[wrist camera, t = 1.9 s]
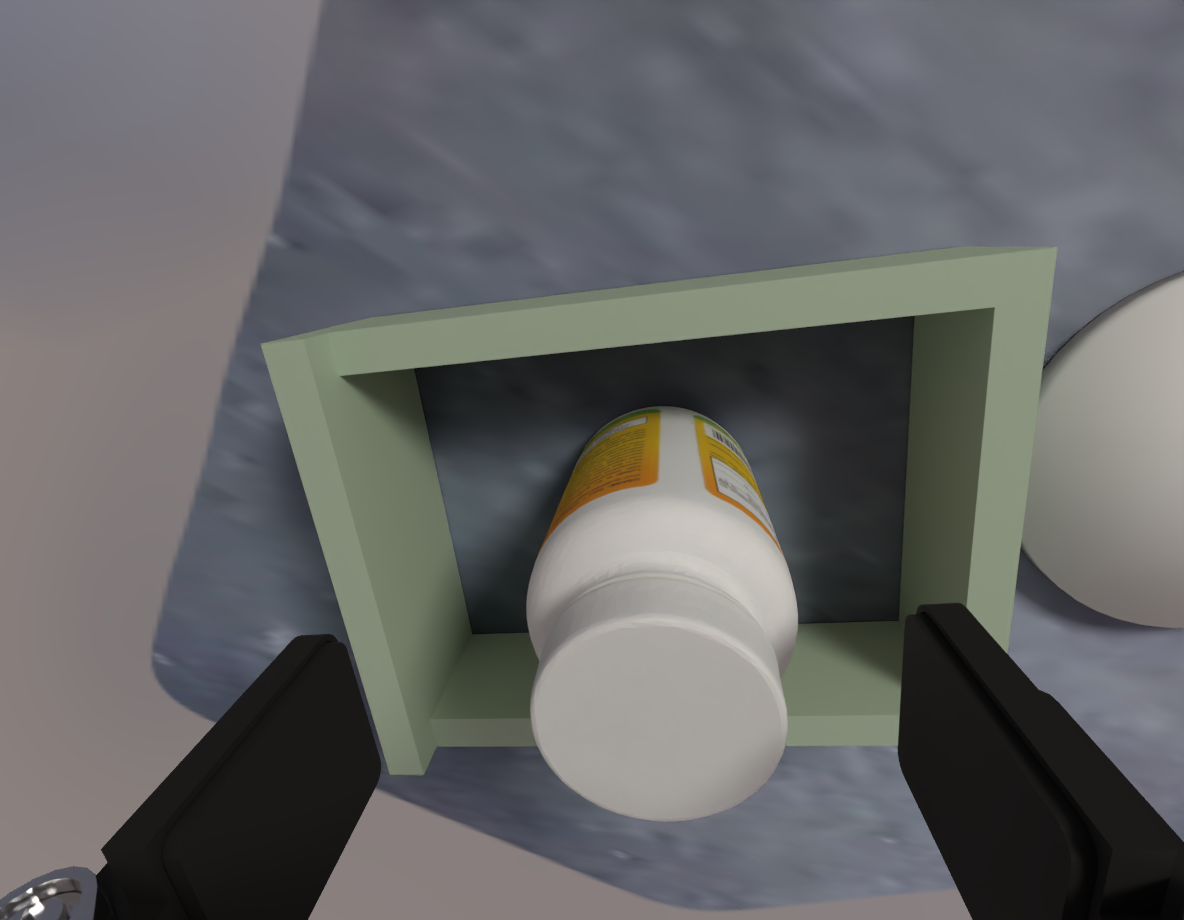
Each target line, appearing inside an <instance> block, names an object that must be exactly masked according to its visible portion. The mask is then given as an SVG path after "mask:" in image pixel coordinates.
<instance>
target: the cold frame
mask: <svg viewBox="0 0 1184 920" xmlns="http://www.w3.org/2000/svg"><path fill="white" fill-rule="evenodd" d="M1057 248H1058V247H954V248H946V249H938V250H929V251H921V252H913V253H905V254H896V255H888V256H880V257H871V258H863V259H855V260H846V261H838V262H830V263H821V264H813V265H805V266H796V267H788V268H780V269H771V270H763V271H755V272H746V273H738V274H730V275H722V276H713V277H705V278H697V279H688V280H680V281H672V282H663V283H655V284H647V285H638V286H630V287H622V288H613V289H605V290H597V291H588V292H580V293H572V294H564V295H555V296H547V297H539V298H530V299H522V300H514V301H505V302H497V303H489V304H480V305H472V306H464V307H455V308H447V309H439V310H430V311H422V312H414V313H406V314H397V315H389V316H381V317H372V318H367V319H363V320H359V321H354V322H350V323H346V324H342V325H338V326H334V327H330V328H325V329H321V330H317V331H313V332H309V333H305V334H300V335H296V336H292V337H288V338H284V339H280V340H275V341H271V342H267V343H263V344H261V347H262V350H263V353H264V357H265V360H266V363H267V367H268V370H269V373H270V377H271V380H272V383H273V387H274V390H275V393H276V397H277V400H278V403H279V407H280V410H281V413H282V417H283V420H284V423H285V427H286V430H287V433H288V437H289V440H290V443H291V447H292V450H293V453H294V457H295V460H296V463H297V467H298V470H299V473H300V477H301V480H302V483H303V487H304V490H305V493H306V497H307V500H308V503H309V507H310V510H311V513H312V517H313V520H314V523H315V527H316V530H317V533H318V537H319V540H320V543H321V547H322V550H323V553H324V557H325V560H326V563H327V567H328V570H329V573H330V577H331V580H332V583H333V587H334V590H335V593H336V597H337V600H338V603H339V607H340V610H341V613H342V617H343V620H344V623H345V627H346V630H347V633H348V637H349V640H350V643H351V647H352V650H353V653H354V657H355V660H356V663H357V667H358V670H359V673H360V677H361V680H362V683H363V687H364V690H365V693H366V697H367V700H368V703H369V707H370V710H371V713H372V717H373V720H374V723H375V727H376V730H377V733H378V737H379V740H380V743H381V747H382V750H383V753H384V757H385V760H386V763H387V767H388V770H389V773H390V775H424V773H425V771H426V769H427V767H428V765H429V763H430V760H431V758H432V756H433V754H434V752H435V750H436V747H529V746H537V744H536V741H535V738H534V735H533V732H532V727H531V718H530V699H531V692H532V687H533V683H534V680H535V676H536V672H537V669H538V665H539V659H538V657H537V655H536V652H535V649H534V647H533V644H532V641H531V638H530V634H529V633H498V634H472V630H471V625H470V621H469V616H468V612H467V607H466V603H465V598H464V594H463V589H462V584H461V580H460V575H459V571H458V566H457V562H456V557H455V553H454V548H453V544H452V539H451V535H450V530H449V525H448V521H447V516H446V512H445V507H444V503H443V498H442V494H441V489H440V485H439V480H438V475H437V471H436V466H435V462H434V457H433V453H432V448H431V444H430V439H429V435H428V430H427V426H426V421H425V416H424V412H423V407H422V403H421V398H420V394H419V389H418V385H417V380H416V376H415V371H414V368H421V367H430V366H440V365H449V364H459V363H468V362H478V361H487V360H497V359H506V358H516V357H525V356H535V355H544V354H554V353H563V352H573V351H582V350H592V349H601V348H611V347H621V346H630V345H640V344H649V343H659V342H668V341H678V340H687V339H697V338H706V337H716V336H725V335H735V334H744V333H754V332H763V331H773V330H782V329H792V328H801V327H811V326H820V325H830V324H839V323H849V322H859V321H868V320H878V319H887V318H897V317H906V316H915V318H914V337H913V356H912V376H911V395H910V414H909V433H908V453H907V472H906V491H905V510H904V530H903V549H902V568H901V587H900V607H899V621H875V622H844V623H812V624H798V630H797V637H796V643H795V647H794V651H793V654H792V657H791V659H790V662H789V664H788V666H787V668H786V670H785V672H784V675H783V676H782V678H781V679H780V680H781V684H782V689H783V694H784V698H785V703H786V707H787V720H788V733H787V739H786V744H785V746H898V735H899V717H900V699H901V681H902V663H903V645H904V628H905V619H906V617H907V616H908V615H913V614H916V611H917V608H918V606H920V605H921V604H941V603H961V604H963V605H964V606H965V607H966V608H967V609H968V610H969V611H970V612H971V613H972V614H973V616H974V617H975V618H976V619H977V620H978V621H979V622H980V623H981V625H982V626H983V627H984V628H985V629H986V630H987V631H988V633H989V634H990V635H991V636H992V637H993V638H994V639H995V641H996V642H997V643H998V644H999V645H1000V646H1001V647H1002V649H1003V650H1004V651H1005V652H1006V653H1008V645H1009V637H1010V629H1011V621H1012V612H1013V604H1014V596H1015V588H1016V580H1017V572H1018V564H1019V556H1020V548H1021V539H1022V531H1023V523H1024V515H1025V507H1026V499H1027V491H1028V483H1029V475H1030V467H1031V458H1032V450H1033V442H1034V434H1035V426H1036V418H1037V410H1038V402H1039V394H1040V385H1041V377H1042V369H1043V361H1044V353H1045V345H1046V337H1047V329H1048V321H1049V312H1050V304H1051V296H1052V288H1053V280H1054V272H1055V264H1056V256H1057Z"/></svg>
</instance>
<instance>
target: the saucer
mask: <svg viewBox="0 0 1184 920" xmlns="http://www.w3.org/2000/svg"><path fill="white" fill-rule="evenodd" d="M1021 549H1022V550H1023V552H1024V553H1025V554H1026V556H1027V557H1028V558H1029V560H1030V561H1031V562H1032V563H1033V564H1034V565H1035V566H1036V567H1037V568H1038V569H1039V570H1040V571H1041V572H1042V573H1043V574H1044V575H1046V576H1047V577H1048V578H1049V579H1050V580H1051V581H1052V582H1054V583H1055V584H1056V585H1057V586H1058V587H1059V588H1060V589H1062V590H1063V591H1065V592H1066V593H1067V594H1069V595H1070V596H1071V597H1073V598H1074V599H1076V600H1077V601H1079V602H1080V603H1082V604H1084V605H1086V606H1088V607H1090V608H1092V609H1094V610H1096V611H1098V612H1100V613H1103V614H1106V615H1108V616H1111V617H1114V618H1116V619H1120V620H1124V621H1128V622H1132V623H1136V624H1140V625H1147V626H1155V627H1163V628H1184V271H1182V272H1179V273H1177V274H1174V275H1172V276H1169V277H1167V278H1164V279H1162V280H1159V281H1157V282H1155V283H1153V284H1151V285H1149V286H1147V287H1145V288H1143V289H1141V290H1139V291H1137V292H1135V293H1133V294H1131V295H1129V296H1128V297H1126V298H1125V299H1123V300H1121V301H1120V302H1118V303H1117V304H1115V305H1114V306H1112V307H1111V308H1109V309H1108V310H1106V311H1105V312H1103V313H1101V314H1100V315H1099V316H1098V317H1096V318H1095V319H1094V320H1093V321H1091V322H1090V323H1089V324H1088V325H1087V326H1085V327H1084V328H1083V329H1082V330H1080V331H1079V332H1078V333H1077V334H1076V335H1075V336H1074V337H1073V338H1072V339H1071V340H1070V341H1069V342H1068V343H1067V344H1066V345H1065V346H1064V347H1063V348H1062V349H1061V350H1060V351H1059V352H1058V353H1057V354H1056V355H1055V356H1054V357H1053V358H1052V360H1051V361H1050V362H1049V363H1048V365H1047V366H1046V367H1045V368H1044V369H1043V371H1042V377H1041V385H1040V394H1039V402H1038V410H1037V418H1036V426H1035V434H1034V442H1033V450H1032V458H1031V467H1030V475H1029V483H1028V491H1027V499H1026V507H1025V515H1024V523H1023V531H1022V539H1021Z"/></svg>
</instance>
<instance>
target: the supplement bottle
mask: <svg viewBox="0 0 1184 920" xmlns="http://www.w3.org/2000/svg"><path fill="white" fill-rule="evenodd" d="M526 612H527V624H528V629H529V634H530V638H531V641H532V644H533V647H534V649H535V652H536V655H537V657H538V659H539V665H538V669H537V672H536V676H535V680H534V683H533V687H532V692H531V699H530V718H531V727H532V732H533V735H534V738H535V741H536V744H537V746H538V748H539V750H540V752H541V754H542V756H543V758H544V760H545V761H546V763H547V764H548V765H549V767H550V768H551V769H552V770H553V772H554V773H555V774H556V775H557V776H558V777H559V778H560V779H561V780H562V781H563V782H564V783H565V784H566V785H567V786H568V787H570V788H571V789H572V790H573V791H575V792H576V793H578V794H579V795H581V796H582V797H584V798H585V799H587V800H589V801H591V802H593V803H595V804H596V805H598V806H600V807H602V808H605V809H607V810H610V811H612V812H615V813H618V814H621V815H625V816H628V817H632V818H637V819H644V820H652V821H666V822H670V821H685V820H692V819H697V818H702V817H707V816H710V815H713V814H716V813H719V812H722V811H725V810H727V809H729V808H731V807H733V806H736V805H738V804H740V803H741V802H743V801H744V800H746V799H747V798H749V797H750V796H751V795H752V794H754V793H755V792H756V791H757V790H758V789H759V788H761V787H762V786H763V785H764V784H765V782H766V781H767V780H768V779H769V778H770V777H771V775H772V774H773V772H774V771H775V769H776V767H777V765H778V763H779V761H780V759H781V757H782V755H783V751H784V748H785V744H786V739H787V733H788V720H787V707H786V703H785V698H784V694H783V689H782V684H781V680H780V679H781V678H782V676H783V675H784V672H785V670H786V668H787V666H788V664H789V662H790V659H791V657H792V654H793V651H794V647H795V643H796V637H797V630H798V610H797V602H796V596H795V592H794V587H793V583H792V579H791V576H790V572H789V569H788V566H787V563H786V560H785V558H784V555H783V552H782V550H781V548H780V545H779V542H778V539H777V537H776V534H775V532H774V529H773V526H772V524H771V521H770V518H769V515H768V513H767V510H766V507H765V504H764V502H763V499H762V497H761V494H760V491H759V489H758V486H757V483H756V480H755V478H754V475H753V473H752V470H751V468H750V465H749V463H748V461H747V459H746V457H745V455H744V453H743V451H742V450H741V448H740V446H739V445H738V444H737V442H736V441H735V440H734V438H733V437H732V436H731V435H730V434H729V433H728V432H727V431H726V430H725V429H724V428H722V427H721V426H720V425H719V424H717V423H716V422H714V421H713V420H711V419H709V418H708V417H706V416H704V415H702V414H699V413H697V412H694V411H691V410H688V409H684V408H679V407H672V406H654V407H646V408H641V409H637V410H634V411H631V412H628V413H626V414H623V415H621V416H619V417H617V418H615V419H614V420H612V421H610V422H609V423H607V424H606V425H604V426H603V427H602V428H601V429H600V430H599V431H598V432H597V433H596V434H595V435H594V436H593V437H592V438H591V439H590V441H589V442H588V443H587V445H586V446H585V448H584V449H583V451H582V453H581V455H580V456H579V458H578V460H577V463H576V465H575V467H574V470H573V472H572V475H571V477H570V480H569V482H568V484H567V487H566V489H565V492H564V494H563V496H562V499H561V501H560V503H559V506H558V508H557V511H556V513H555V516H554V518H553V520H552V522H551V525H550V527H549V530H548V532H547V535H546V537H545V539H544V542H543V544H542V547H541V549H540V551H539V553H538V556H537V559H536V562H535V564H534V567H533V571H532V574H531V578H530V582H529V586H528V593H527V604H526Z"/></svg>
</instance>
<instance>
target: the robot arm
mask: <svg viewBox="0 0 1184 920" xmlns="http://www.w3.org/2000/svg"><path fill="white" fill-rule="evenodd" d="M898 757H899V762H900V766H901V770H902V773H903V775H904V777H905V779H906V782H907V784H908V786H909V788H910V790H911V792H912V794H913V796H914V798H915V800H916V802H917V804H918V807H919V809H920V811H921V813H922V815H923V817H924V819H925V821H926V823H927V825H928V827H929V830H930V832H931V834H932V836H933V838H934V840H935V842H936V844H937V846H938V848H939V850H940V853H941V855H942V857H943V859H944V861H945V863H946V865H947V867H948V869H949V871H950V873H951V876H952V878H953V880H954V882H955V884H956V886H957V888H958V890H959V892H960V894H961V896H962V899H963V901H964V903H965V905H966V907H967V909H968V911H969V913H970V915H971V917H972V919H973V920H1184V842H1183V841H1182V840H1181V839H1180V837H1179V836H1178V835H1177V834H1176V833H1175V832H1174V831H1173V830H1172V829H1171V827H1170V826H1169V825H1168V824H1167V823H1166V822H1165V821H1164V820H1163V818H1162V817H1161V816H1160V815H1159V814H1158V813H1157V812H1156V811H1155V810H1154V808H1153V807H1152V806H1151V805H1150V804H1149V803H1148V802H1147V801H1146V800H1145V798H1144V797H1143V796H1142V795H1141V794H1140V793H1139V792H1138V791H1137V789H1136V788H1135V787H1134V786H1133V785H1132V784H1131V783H1130V782H1129V781H1128V779H1127V778H1126V777H1125V776H1124V775H1123V774H1122V773H1121V772H1120V770H1119V769H1118V768H1117V767H1116V766H1115V765H1114V764H1113V763H1112V762H1111V760H1110V759H1109V758H1108V757H1107V756H1106V755H1105V754H1104V753H1103V752H1102V750H1101V749H1100V748H1099V747H1098V746H1097V745H1096V744H1095V743H1094V741H1093V740H1092V739H1091V738H1090V737H1089V736H1088V735H1087V734H1086V733H1085V731H1084V730H1083V729H1082V728H1081V727H1080V726H1079V725H1078V724H1077V722H1076V721H1075V720H1074V719H1073V718H1072V717H1071V716H1070V715H1069V714H1068V712H1067V711H1066V710H1065V709H1064V708H1063V707H1062V706H1061V705H1060V704H1059V702H1057V701H1056V700H1055V699H1054V698H1053V697H1052V696H1051V695H1050V694H1048V693H1045V692H1043V691H1041V690H1038V689H1037V687H1036V686H1035V685H1034V684H1033V683H1032V682H1031V681H1030V679H1029V678H1028V677H1027V676H1026V675H1025V674H1024V673H1023V671H1022V670H1021V669H1020V668H1019V667H1018V666H1017V665H1016V663H1015V662H1014V661H1013V660H1012V659H1011V658H1010V657H1009V655H1008V654H1007V653H1006V652H1005V651H1004V650H1003V649H1002V647H1001V646H1000V645H999V644H998V643H997V642H996V641H995V639H994V638H993V637H992V636H991V635H990V634H989V633H988V631H987V630H986V629H985V628H984V627H983V626H982V625H981V623H980V622H979V621H978V620H977V619H976V618H975V617H974V616H973V614H972V613H971V612H970V611H969V610H968V609H967V608H966V607H965V606H964V605H963V604H961V603H941V604H921V605H920V606H918V608H917V611H916V614H913V615H908V616H907V617H906V619H905V628H904V645H903V663H902V681H901V699H900V717H899V735H898ZM380 772H381V761H380V757H379V753H378V750H377V747H376V744H375V740H374V737H373V734H372V730H371V727H370V724H369V721H368V717H367V714H366V711H365V707H364V704H363V701H362V698H361V694H360V691H359V688H358V684H357V681H356V678H355V675H354V671H353V668H352V665H351V661H350V658H349V655H348V652H347V649H346V646H345V645H344V644H343V643H341V642H338V641H337V639H336V638H335V637H334V636H333V635H330V634H321V635H301V636H298V637H296V638H294V639H293V640H292V641H291V642H290V643H289V644H288V645H287V646H286V648H285V649H284V650H283V651H282V652H281V653H280V654H279V655H278V656H277V657H276V658H275V660H274V661H273V662H272V663H271V664H270V665H269V666H268V667H267V668H266V669H265V671H264V672H263V673H262V674H261V675H260V676H259V677H258V678H257V679H256V680H255V681H254V683H253V684H252V685H251V686H250V687H249V688H248V689H247V690H246V691H245V692H244V693H243V695H242V696H241V697H240V698H239V699H238V700H237V701H236V702H235V703H234V704H233V706H232V707H231V708H230V709H229V710H228V711H227V712H226V713H225V714H224V715H223V716H222V718H221V719H220V720H219V721H218V722H217V723H216V724H215V725H214V726H213V727H212V728H211V730H210V731H209V732H208V733H207V734H206V735H205V736H204V737H203V738H202V739H201V741H200V742H199V743H198V744H197V745H196V746H195V747H194V748H193V749H192V751H190V753H189V754H188V755H187V756H186V757H185V758H184V759H183V761H181V762H180V763H179V765H178V766H177V767H176V768H175V769H174V770H173V771H172V772H171V773H170V774H169V776H168V777H167V778H166V779H165V780H164V781H163V782H162V783H161V784H160V785H159V786H158V788H157V789H156V790H155V791H154V792H153V793H152V794H151V795H150V796H149V797H148V798H147V800H146V801H145V802H144V803H143V804H142V805H141V806H140V807H139V808H138V809H137V810H136V812H135V813H134V814H133V815H132V816H131V817H130V818H129V819H128V820H127V821H126V822H125V824H124V825H123V826H122V827H121V828H120V829H119V830H118V831H117V832H116V834H115V835H114V836H113V837H112V838H111V839H110V840H109V841H108V842H107V843H106V844H105V846H104V847H103V848H102V849H101V851H102V853H103V854H104V856H105V858H106V860H107V862H108V863H107V864H106V865H105V866H104V867H103V868H102V870H101V871H100V872H99V873H98V874H97V875H95V874H94V873H93V872H92V871H91V870H89V869H88V868H83V867H75V866H73V867H68V868H64V869H58V870H54V871H52V872H50V873H47V874H45V875H42V876H40V877H37V878H35V879H33V880H31V881H29V882H27V883H26V884H24V885H22V886H21V887H19V888H17V889H16V890H14V891H12V892H10V893H9V894H7V895H6V896H5V897H3V898H2V899H1V900H0V920H308V918H309V916H310V914H311V912H312V910H313V909H314V907H315V904H316V903H317V901H318V899H319V897H320V895H321V893H322V891H323V889H324V887H325V885H326V883H327V881H328V879H329V877H330V875H331V873H332V871H333V869H334V867H335V865H336V864H337V862H338V860H339V858H340V856H341V854H342V852H343V850H344V848H345V846H346V844H347V842H348V840H349V838H350V836H351V834H352V832H353V830H354V828H355V826H356V824H357V822H358V821H359V819H360V817H361V815H362V812H363V811H364V809H365V807H366V805H367V803H368V801H369V799H370V797H371V795H372V793H373V791H374V789H375V787H376V785H377V783H378V780H379V777H380Z"/></svg>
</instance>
